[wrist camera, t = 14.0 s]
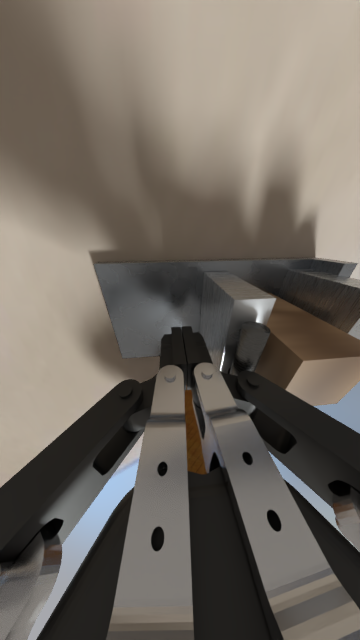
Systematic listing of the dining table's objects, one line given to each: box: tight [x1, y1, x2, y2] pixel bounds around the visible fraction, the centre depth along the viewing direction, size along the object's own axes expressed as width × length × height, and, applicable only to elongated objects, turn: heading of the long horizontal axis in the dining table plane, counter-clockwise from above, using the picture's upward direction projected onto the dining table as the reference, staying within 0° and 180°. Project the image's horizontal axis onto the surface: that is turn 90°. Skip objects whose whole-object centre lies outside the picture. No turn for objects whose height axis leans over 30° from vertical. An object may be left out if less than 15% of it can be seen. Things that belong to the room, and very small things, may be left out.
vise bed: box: [94, 258, 360, 358], centre depth 12 cm, size 19×10×7 cm, turn 90°
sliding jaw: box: [199, 271, 276, 376], centre depth 11 cm, size 2×8×7 cm, turn 1°
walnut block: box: [255, 293, 360, 406], centre depth 11 cm, size 4×4×8 cm
